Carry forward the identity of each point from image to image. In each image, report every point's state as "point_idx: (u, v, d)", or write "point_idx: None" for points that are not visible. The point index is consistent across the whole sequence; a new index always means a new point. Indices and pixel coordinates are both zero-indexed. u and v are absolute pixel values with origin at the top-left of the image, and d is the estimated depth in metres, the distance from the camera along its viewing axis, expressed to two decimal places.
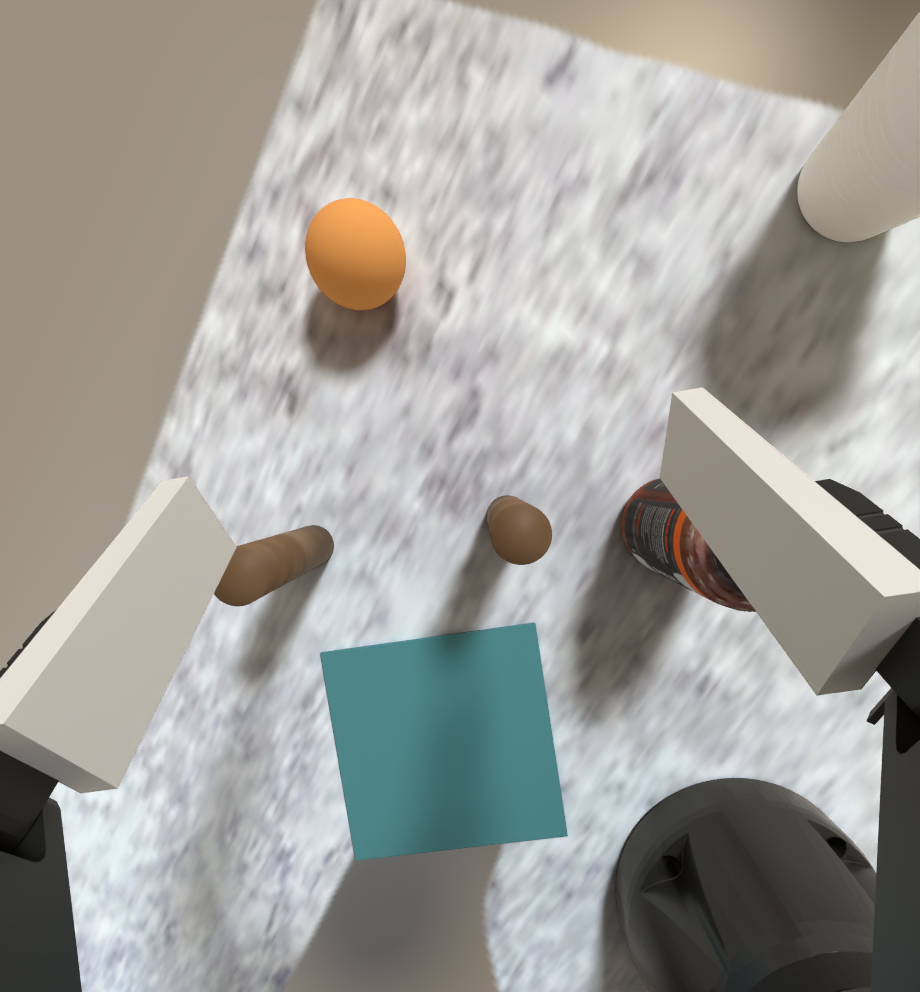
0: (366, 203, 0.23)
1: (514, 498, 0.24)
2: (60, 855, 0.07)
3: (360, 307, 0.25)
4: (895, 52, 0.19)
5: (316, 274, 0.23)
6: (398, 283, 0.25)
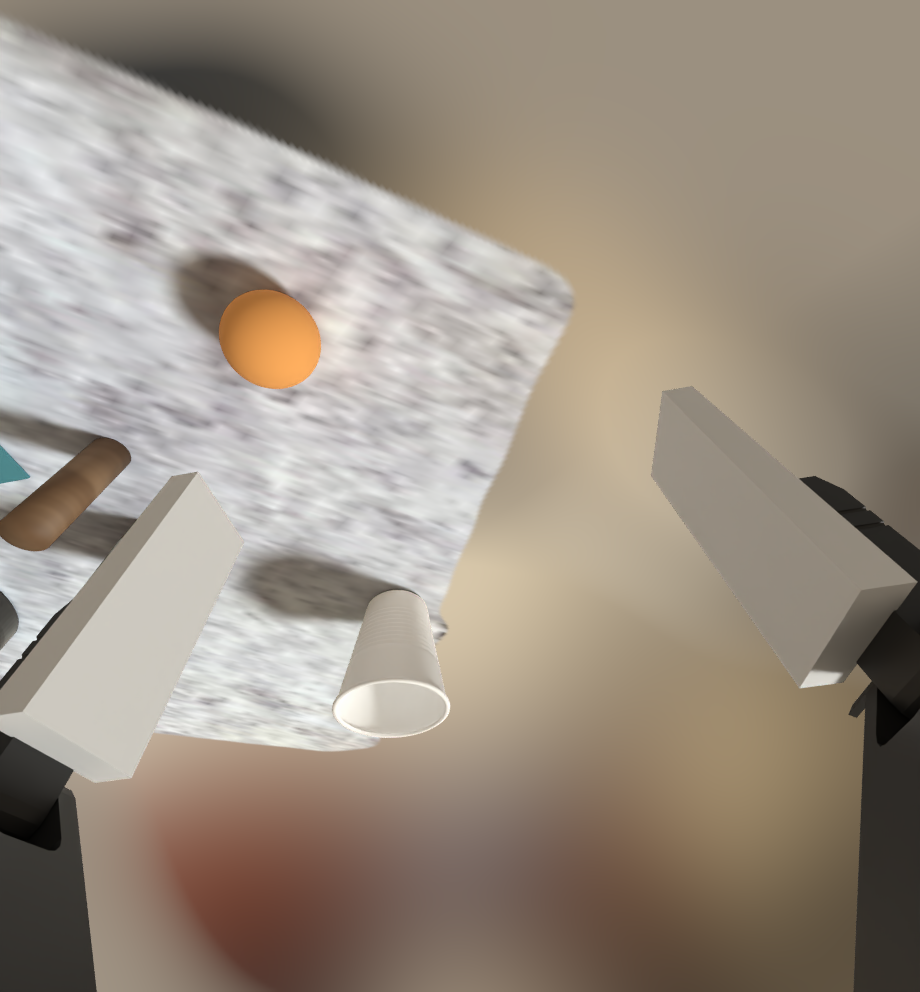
0: (302, 367, 0.25)
1: (99, 484, 0.30)
2: (76, 844, 0.07)
3: None
4: (403, 646, 0.37)
5: (227, 315, 0.23)
6: None
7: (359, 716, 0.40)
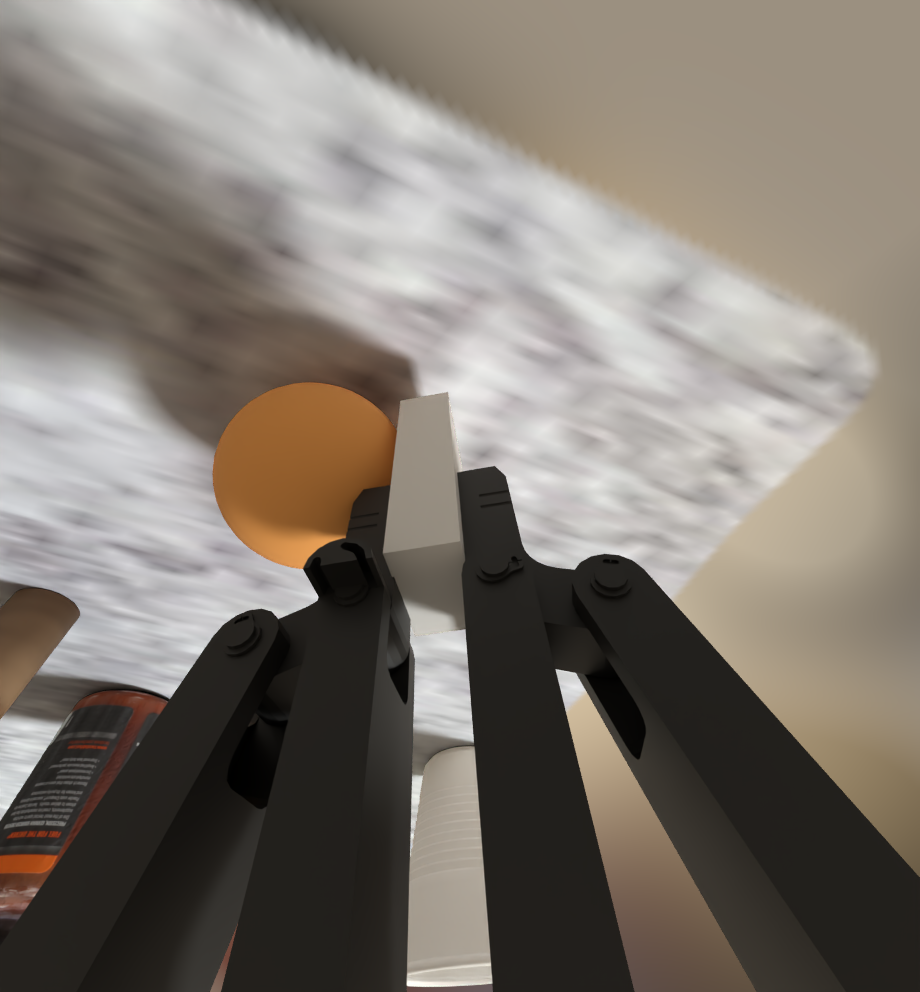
0: None
1: (13, 687, 0.17)
2: (412, 703, 0.08)
3: None
4: None
5: (228, 450, 0.11)
6: None
7: None
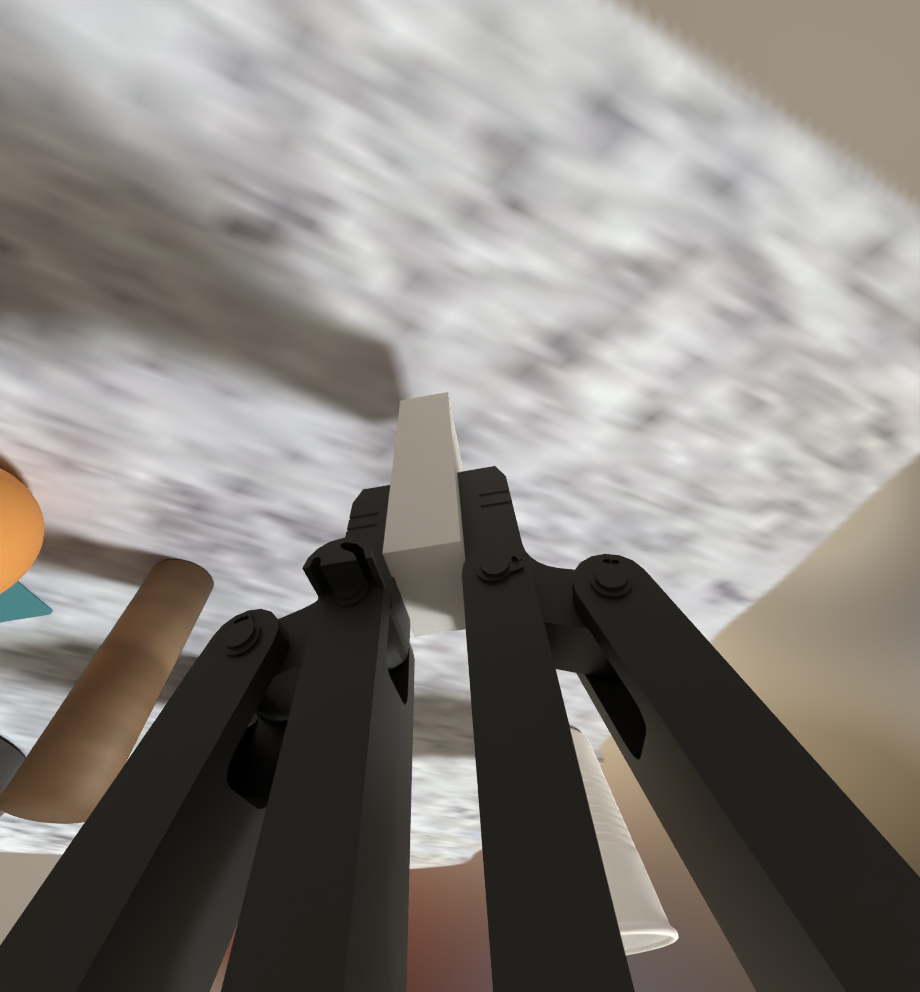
0: None
1: (174, 655, 0.17)
2: (411, 703, 0.08)
3: None
4: (604, 848, 0.25)
5: None
6: None
7: None
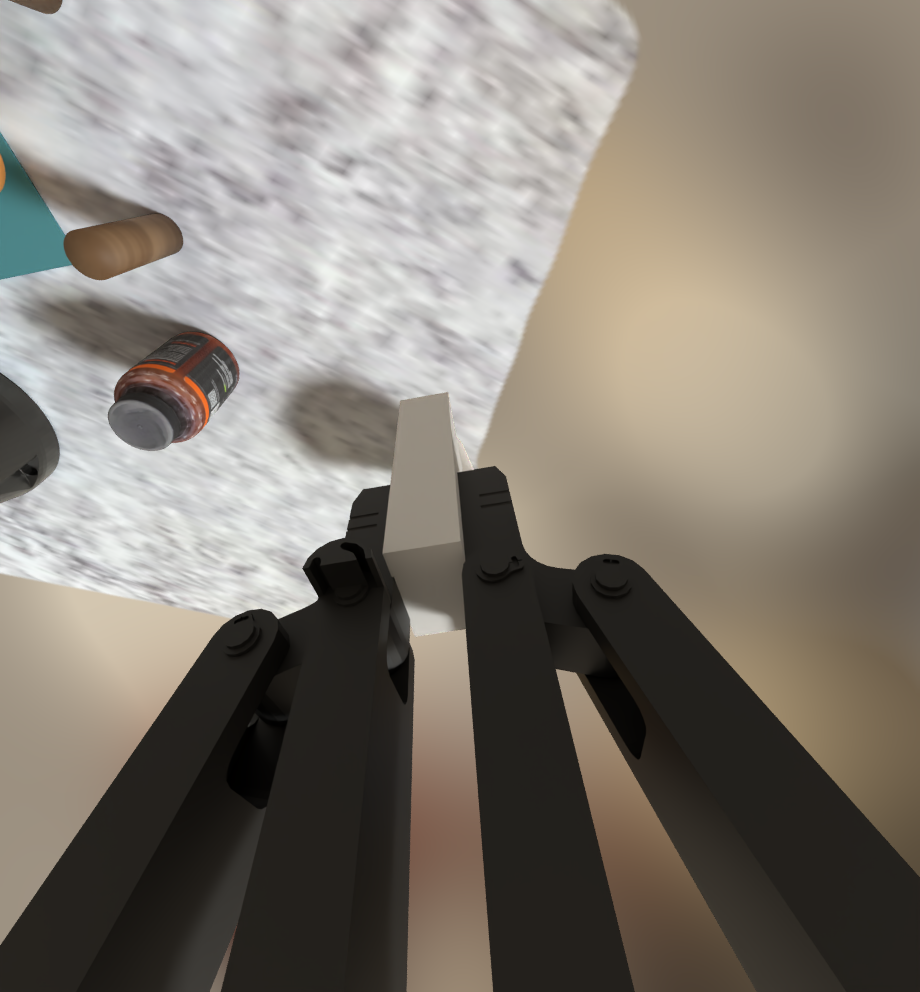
0: None
1: (156, 244, 0.29)
2: (412, 703, 0.08)
3: None
4: None
5: None
6: (3, 186, 0.29)
7: None
